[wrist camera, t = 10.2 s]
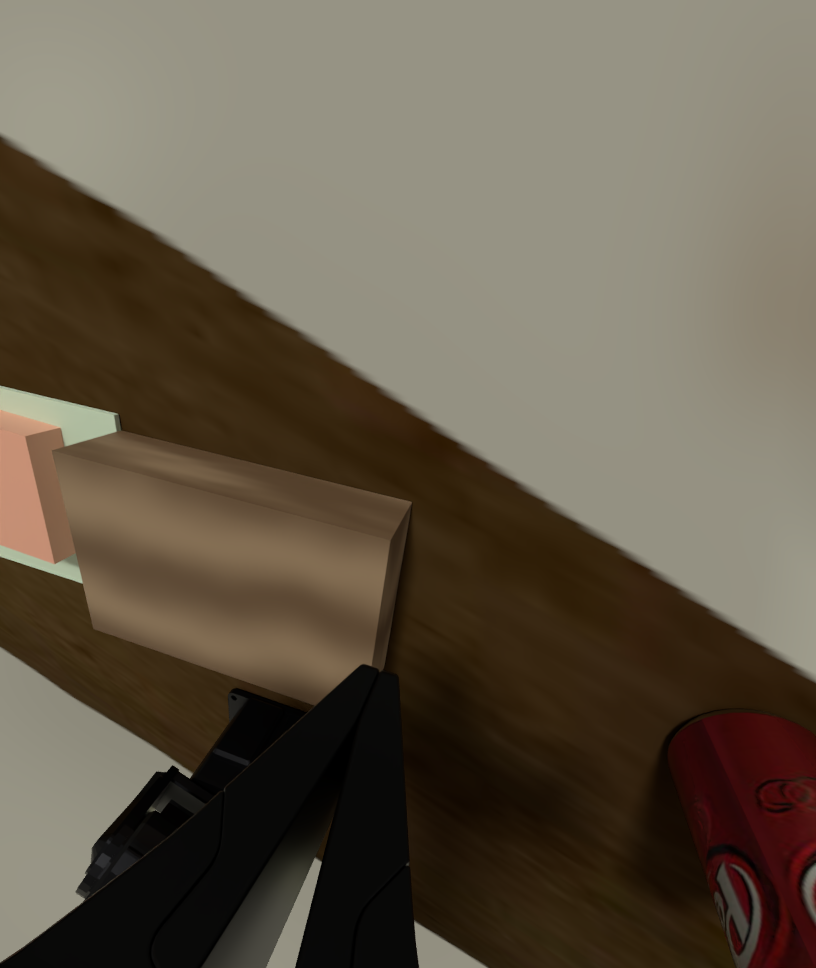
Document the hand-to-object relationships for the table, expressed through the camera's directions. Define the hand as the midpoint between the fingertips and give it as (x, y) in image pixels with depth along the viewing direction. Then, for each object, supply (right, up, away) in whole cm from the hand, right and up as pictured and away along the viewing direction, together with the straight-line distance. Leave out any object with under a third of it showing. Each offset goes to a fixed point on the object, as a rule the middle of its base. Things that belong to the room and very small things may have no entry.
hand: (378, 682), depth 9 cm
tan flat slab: (-9, 0, +16) cm, 18 cm away
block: (-25, +4, +17) cm, 30 cm away
